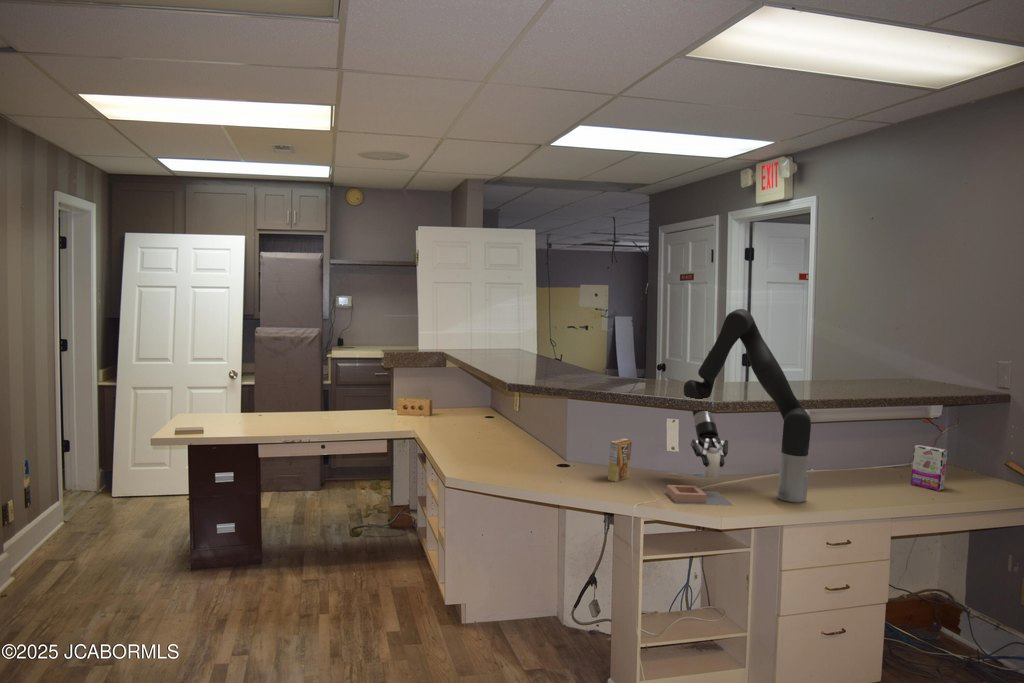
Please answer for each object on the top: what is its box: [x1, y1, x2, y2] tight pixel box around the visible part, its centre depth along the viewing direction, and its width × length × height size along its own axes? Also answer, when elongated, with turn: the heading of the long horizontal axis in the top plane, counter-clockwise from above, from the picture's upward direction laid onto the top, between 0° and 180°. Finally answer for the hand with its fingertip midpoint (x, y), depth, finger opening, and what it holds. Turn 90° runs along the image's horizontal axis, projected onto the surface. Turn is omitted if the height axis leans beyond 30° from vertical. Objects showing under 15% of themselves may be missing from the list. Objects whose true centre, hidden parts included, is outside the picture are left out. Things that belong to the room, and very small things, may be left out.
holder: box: [662, 484, 734, 506], centre depth 267 cm, size 21×16×4 cm
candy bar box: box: [910, 444, 948, 492], centre depth 300 cm, size 11×5×16 cm, turn 40°
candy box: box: [607, 438, 633, 483], centre depth 289 cm, size 9×4×15 cm, turn 137°
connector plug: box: [704, 448, 721, 479], centre depth 270 cm, size 5×5×10 cm
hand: (714, 465), depth 268 cm, fingers closed on connector plug, 5 cm apart
